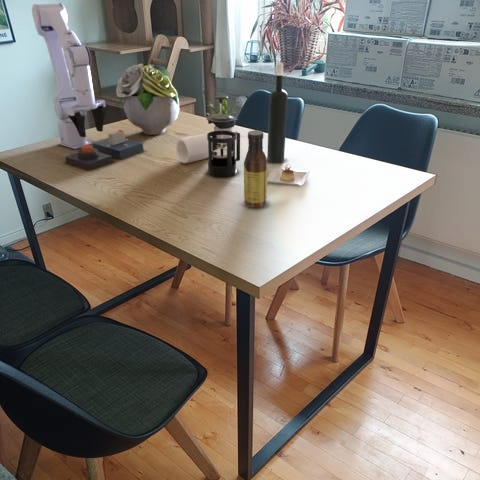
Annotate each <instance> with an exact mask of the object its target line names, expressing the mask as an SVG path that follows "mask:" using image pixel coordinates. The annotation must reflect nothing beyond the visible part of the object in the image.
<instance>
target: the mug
mask: <svg viewBox="0 0 480 480" xmlns="http://www.w3.org/2000/svg"><path fill="white" fill-rule="evenodd" d="M207 134H208V133H200V134H195V135H190V136H185V137H181V138H178V139H177V141H176V144H175V150H176V155H177V157H178V159H179V161H180V162H181V163H183V164H190V163H193V162H197V161H202V160H207V159H209V151H208V140H207Z"/></svg>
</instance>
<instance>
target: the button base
mask: <svg viewBox="0 0 480 480" xmlns="http://www.w3.org/2000/svg"><path fill="white" fill-rule="evenodd" d="M64 158H65V163H66V164H69V165H72V166H75V167H78V168H82V169H85V170H88V171H91V170H95V169H96V168H97V169H98V168H100V167H103V166H106V165H108V164H111V163H113V162H114V161H113V157H112V156H111V155H107V154H104V153H100V152H98V150H97V149H96V148H93V152H89V153H83V152H82V149H81V148H78V150H76V152H74V153H72V154H68V155H66V156H64Z"/></svg>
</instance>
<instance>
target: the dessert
mask: <svg viewBox="0 0 480 480" xmlns="http://www.w3.org/2000/svg"><path fill="white" fill-rule="evenodd" d="M309 174H310V170H309V171H308V170H300V169H299V170H298V169H294V168H292V166H290V165H289V164H286V165H284V167H283V168H278V167H272V169H271V170H270V172H269V173H268V174H267V183H269V184H277V185H284V186H285V185H286V186H293V187H294V186H295V187H300V186H304V185H305V183H306V181H307V179H308V177H309Z"/></svg>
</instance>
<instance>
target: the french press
mask: <svg viewBox="0 0 480 480" xmlns="http://www.w3.org/2000/svg"><path fill="white" fill-rule="evenodd" d="M213 99H214V100H217V99H219V102H220V105H221V114H217V115H213V114H210V115H211V116H210V115H207V116H208V117H207V116H206V117H207V118H206V120H207V124H208V125H211V124H213V126H214V125H215V126H216V127H218V128H220V129H221V130H219V131H214V130H213V131H209V132H208V133H206V134H207V140H208V151H209V158H208V162H207V174H208V175H209V176H211V177H214V178H220V179H221V178H223V179H224V178H225V179H226V178H231V177H234V176H235V175H237V173H238V171H237V162H240V161H241V133H240V132H238V131H232V132H231V131H224V130H222V129H227V128H232V129H233V128H234V127H235V126H236V123H235V121H236V120H237V117H236V116H234V115H233V114H231V115H228V114H222V106H223V104H222V103H223V102H224V99H225V100H227V99H229V97H228V96H227V95H215V96H213ZM217 135H221V139H218V138H217ZM222 135H230V136H231V138H225V139H222ZM217 143H221V145H220V148H218V144H217ZM222 143H227V144H226V148H223V145H222Z"/></svg>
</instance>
